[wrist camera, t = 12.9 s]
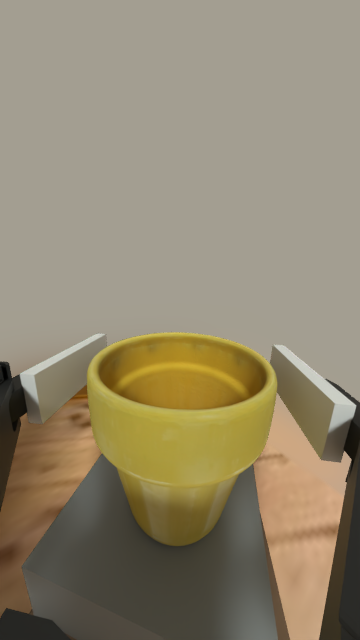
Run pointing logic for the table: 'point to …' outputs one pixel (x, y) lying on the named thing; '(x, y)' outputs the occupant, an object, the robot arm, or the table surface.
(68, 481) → the table surface
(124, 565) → the gray square slab
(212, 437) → the plant pot
